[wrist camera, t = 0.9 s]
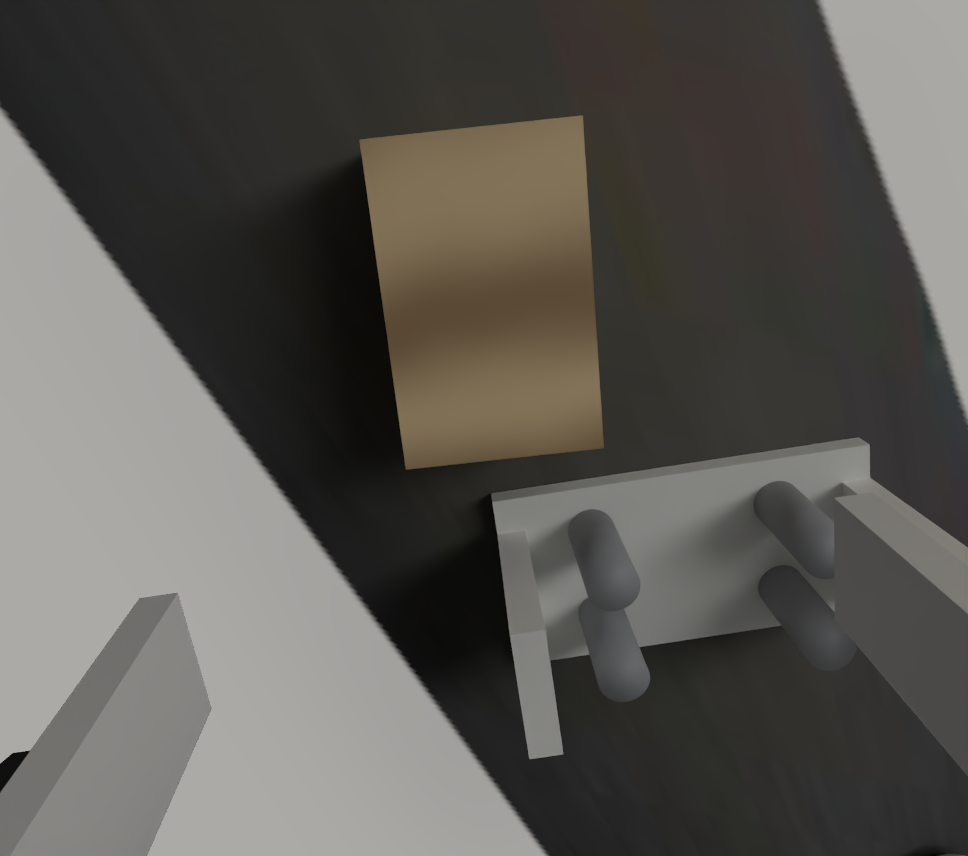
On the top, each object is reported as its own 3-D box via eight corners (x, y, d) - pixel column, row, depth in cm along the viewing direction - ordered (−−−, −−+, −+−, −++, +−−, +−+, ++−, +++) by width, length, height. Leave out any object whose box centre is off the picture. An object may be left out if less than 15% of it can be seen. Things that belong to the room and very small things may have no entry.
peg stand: (491, 493, 35) (503, 595, 26) (858, 437, 35) (990, 521, 26) (516, 652, 37) (534, 793, 29) (860, 601, 37) (982, 727, 29)
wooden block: (377, 147, 31) (359, 139, 25) (559, 127, 31) (582, 115, 25) (414, 421, 34) (406, 469, 29) (578, 403, 34) (603, 448, 29)
